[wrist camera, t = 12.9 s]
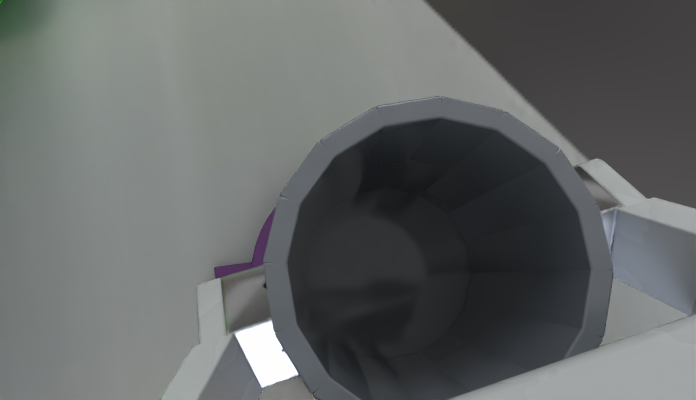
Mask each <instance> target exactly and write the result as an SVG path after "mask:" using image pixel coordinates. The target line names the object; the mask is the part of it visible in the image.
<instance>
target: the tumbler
mask: <svg viewBox="0 0 696 400" xmlns="http://www.w3.org/2000/svg"><path fill="white" fill-rule="evenodd" d="M596 204H597V201H596V200H595V198H594V197H593V195H592V194H591V192H590V191H589V189H588V188H587V187H586V185H585V184H584V182H583V181H582V179H581V178H580V176H579V175H578V173H577V172H576V171H575V169H574V168H573V166H572V165H571V163H570V162H569V160H568V159H567V157H566V156H565V155H564V153H563V152H562V150H561V149H559V148H558V146H556V145H555V144H553V143H552V142H550V141H549V140H547V139H546V138H544V137H543V136H541V135H540V134H539V133H537V132H536V131H534V130H533V129H531V128H530V127H528V126H527V125H525V124H524V123H522V122H521V121H519V120H518V119H517V118H515V117H514V116H512V115H511V114H509V113H508V112H504V111H503V110H501V109H496V108H492V107H487V106H483V105H479V104H474V103H470V102H465V101H461V100H457V99H452V98H448V97H443V96H442V97H439V96H436V97H429V98H423V99H417V100H411V101H404V102H398V103H392V104H386V105H379V106H377V107H376V108H375V107H373V108H371V109H370V110H368V111H366V112H365V113H363V114H361V115H360V116H358V117H357V118H355V119H353V120H352V121H350V122H348V123H347V124H345V125H343V126H342V127H340V128H339V129H337V130H335V131H334V132H332V133H330V134H329V135H327V136H325V137H324V138H322V139H321V140H320V142H318V143H317V144H316V145H315V146H314V148H313V149H312V150H311V152H310V153H309V155H308V156H307V157H306V159H305V160H304V161H303V163H302V164H301V166H300V167H299V168H298V170H297V171H296V172H295V174H294V175H293V177H292V178H291V179H290V181H289V182H288V183H287V185H286V186H285V188H284V189H283V190H282V192H281V193H280V197H279V198H278V200H277V205H276V209H275V213H274V217H273V221H272V226H271V230H270V234H269V238H268V242H267V246H266V251H265V255H264V259H263V262H264V264H263V269H264V276H265V282H266V288H267V295H268V301H269V307H270V313H271V320H272V326H273V331H274V332H275V337H276V338H277V340H278V341H279V343H280V345H281V346H282V348H283V350H284V351H285V353H286V354H287V356H288V358H289V359H290V361H291V363H292V364H293V366H294V367H295V369H296V371H297V372H298V374H299V376H300V377H301V379H302V381H303V382H304V384H305V385H306V387H307V389H308V390H309V392H310V393H311V394H313V396H314V397H315V398H316V399H318V400H447V399H450V398H453V397H456V396H459V395H462V394H465V393H468V392H470V391H473V390H476V389H479V388H482V387H485V386H488V385H491V384H494V383H497V382H500V381H502V380H505V379H508V378H511V377H514V376H517V375H520V374H523V373H526V372H529V371H531V370H534V369H537V368H540V367H543V366H546V365H549V364H552V363H555V362H558V361H561V360H563V359H566V358H569V357H572V356H575V355H578V354H581V353H584V352H587V351H589V350H592V349H595V348H598V347H599V345H600V344H601V342H602V340H603V339H602V338H603V337H604V333H605V326H606V320H607V313H608V307H609V300H610V294H611V287H612V280H613V274H614V273H613V271H612V270H613V264H612V260H611V256H610V251H609V247H608V243H607V238H606V234H605V230H604V226H603V221H602V217H601V213H600V209H599V206H598V205H596Z"/></svg>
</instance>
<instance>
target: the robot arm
mask: <svg viewBox="0 0 696 400" xmlns="http://www.w3.org/2000/svg"><path fill="white" fill-rule="evenodd" d="M573 168H574V169H575V171H576V172H577V173H578V175H579V176H580V178H581V179H582V181H583V182H584V184H585V185H586V187H587V188H588V189H589V191H590V192H591V194H592V195H593V197H594V198H595V200H596V201H597V204H596V205H598V206H599V209H600V213H601V217H602V221H603V226H604V230H605V234H606V238H607V243H608V247H609V251H610V256H611V260H612V264H613V270H612V271H613V273H614V274H613V278H615V279H617V280H619V281H621V282H623V283H625V284H628V285H630V286H632V287H634V288H636V289H638V290H640V291H642V292H644V293H646V294H648V295H650V296H652V297H654V298H656V299H658V300H660V301H662V302H664V303H666V304H668V305H670V306H672V307H674V308H676V309H678V310H680V311H682V312H684V313H686V314H688V315H690V316H688V317H685V318H682V319H679V320H676V321H673V322H671V323H668V324H665V325H662V326H659V327H656V328H653V329H650V330H647V331H645V332H642V333H639V334H636V335H633V336H630V337H627V338H624V339H621V340H618V341H616V342H613V343H610V344H607V345H604V346H601V347H598V348H595V349H592V350H589V351H587V352H584V353H581V354H578V355H575V356H572V357H569V358H566V359H563V360H561V361H558V362H555V363H552V364H549V365H546V366H543V367H540V368H537V369H534V370H531V371H529V372H526V373H523V374H520V375H517V376H514V377H511V378H508V379H505V380H502V381H500V382H497V383H494V384H491V385H488V386H485V387H482V388H479V389H476V390H473V391H470V392H468V393H465V394H462V395H459V396H456V397H453V398H450V399H447V400H696V209H694V208H690V207H686V206H683V205H680V204H676V203H673V202H669V201H665V200H662V199H658V198H655V197H654V198H651V199H647V198H646V197H644V196H643V195H642V194H641V193H640V192H639V191H638V190H636V189H635V188H634V187H633V186H632V185H631V184H629V183H628V182H627V181H626V180H625V179H624V178H623V177H621V176H620V175H619V174H618V173H617V172H616V171H614V170H613V169H612V168H611V167H610V166H609V165H608V164H606V163H605V162H604V161H603V160H600V159H594V160H591V161H588V162H585V163H582V164H579V165H576V166H575V167H573ZM196 297H197V316H198V334H199V345H197V346H194V347H192V348H191V350H190V351H189V353H188V354H187V356H186V358H185V359H184V361H183V363H182V364H181V366H180V367H179V369H178V371H177V372H176V374H175V375H174V377H173V379H172V380H171V382H170V384H169V385H168V387H167V388H166V390H165V392H164V393H163V395H162V396H161V398H160V400H259V398H260V395H261V393H262V390H261V389H262V388H265V387H267V386H270V385H273V384H276V383H278V382H281V381H284V380H287V379H290V378H292V377H295V376H298V375H299V374H298V372H297V371H296V369H295V367H294V366H293V364H292V363H291V361H290V359H289V358H288V356H287V354H286V353H285V351H284V350H283V348H282V346H281V345H280V343H279V341H278V340H277V338H276V337H275V332H274V331H273V326H272V320H271V313H270V307H269V301H268V295H267V288H266V282H265V276H264V269H263V265H260V266H257V267H253V268H250V269H247V270H243V271H240V272H236V273H233V274H229V275H226V276H222V278H217V279H214V280H210V281H207V282H203V283H200V284H198V286H197V289H196Z"/></svg>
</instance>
